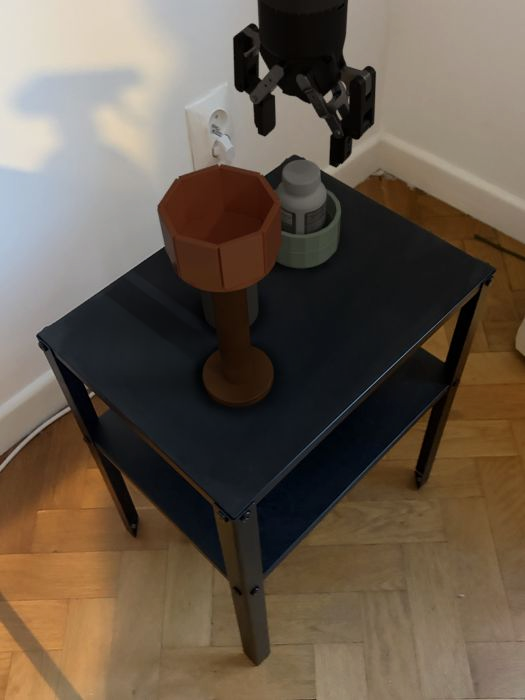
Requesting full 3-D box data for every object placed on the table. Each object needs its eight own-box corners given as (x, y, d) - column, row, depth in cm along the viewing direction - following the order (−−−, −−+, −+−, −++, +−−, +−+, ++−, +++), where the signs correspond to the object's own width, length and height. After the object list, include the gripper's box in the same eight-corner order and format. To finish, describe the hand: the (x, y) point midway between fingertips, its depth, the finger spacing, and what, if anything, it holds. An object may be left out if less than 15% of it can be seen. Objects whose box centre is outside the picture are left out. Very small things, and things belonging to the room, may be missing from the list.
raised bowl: (192, 307, 55) (184, 261, 51) (155, 233, 59) (145, 186, 55) (296, 270, 56) (296, 223, 52) (252, 201, 61) (249, 153, 57)
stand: (219, 418, 70) (198, 296, 55) (193, 364, 74) (168, 236, 59) (285, 391, 71) (282, 266, 57) (256, 340, 75) (247, 210, 61)
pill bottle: (322, 221, 84) (325, 153, 76) (326, 255, 81) (329, 188, 73) (276, 223, 84) (274, 155, 76) (278, 257, 81) (276, 190, 73)
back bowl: (282, 279, 80) (281, 247, 76) (251, 229, 85) (248, 196, 81) (352, 254, 82) (355, 222, 78) (317, 206, 86) (318, 173, 82)
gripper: (205, -19, 60) (222, 141, 73) (352, 32, 55) (342, 195, 68) (259, -56, 64) (266, 103, 77) (402, -12, 58) (383, 151, 71)
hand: (301, 146), depth 72 cm, fingers open, 8 cm apart
